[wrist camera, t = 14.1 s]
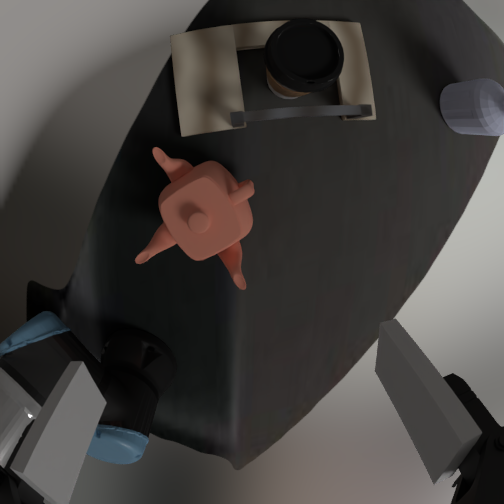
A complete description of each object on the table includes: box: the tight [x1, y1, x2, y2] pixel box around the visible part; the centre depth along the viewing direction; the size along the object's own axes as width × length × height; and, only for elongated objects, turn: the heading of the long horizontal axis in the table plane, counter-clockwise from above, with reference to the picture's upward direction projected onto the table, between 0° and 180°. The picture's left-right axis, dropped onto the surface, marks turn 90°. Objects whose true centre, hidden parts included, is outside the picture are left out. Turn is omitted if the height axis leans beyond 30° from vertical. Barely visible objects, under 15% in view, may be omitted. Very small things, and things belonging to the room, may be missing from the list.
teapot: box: [135, 147, 254, 290], centre depth 38 cm, size 14×14×11 cm
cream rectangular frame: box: [170, 20, 376, 137], centre depth 33 cm, size 28×16×8 cm, turn 97°
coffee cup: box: [264, 18, 344, 99], centre depth 30 cm, size 8×8×15 cm
